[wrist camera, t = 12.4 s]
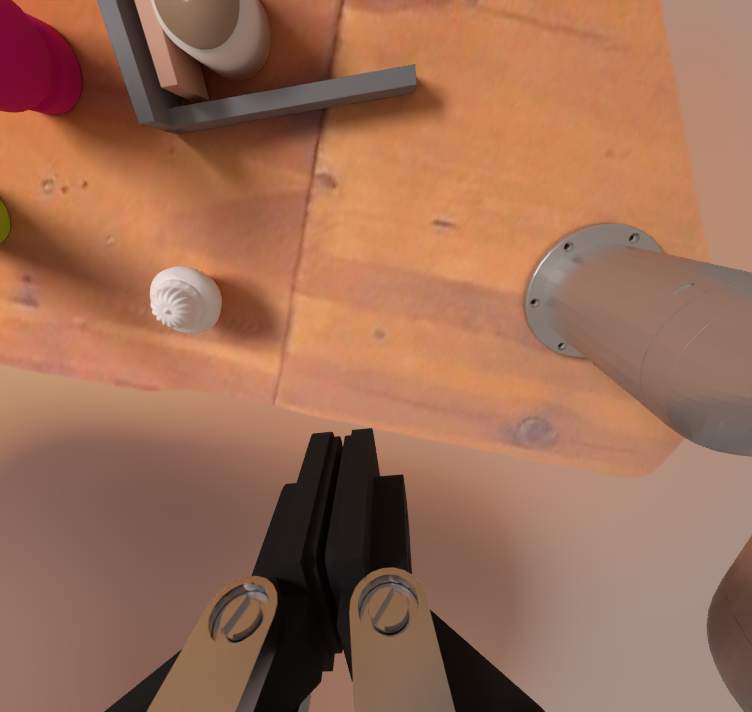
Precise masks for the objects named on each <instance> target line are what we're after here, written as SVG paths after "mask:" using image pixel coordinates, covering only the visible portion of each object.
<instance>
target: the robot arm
mask: <svg viewBox="0 0 752 712" xmlns="http://www.w3.org/2000/svg"><path fill="white" fill-rule="evenodd" d="M630 236H631V238H630ZM629 238H630V239H629ZM566 243H567V247H566V248H565V249H564V246H565V244H566ZM533 299H534V302H533V303H531V301H532V300H533ZM523 306H524V314H525V318H526V321H527V324H528V326H529V328H530V330H531V331H532V333H533V334H534V336H535V337H536V338H537V339H538V340H539V341H540V342H541V343H542V344H544V345H545V346H546V347H548V348H549V349H550V350H552V351H554V352H556V353H559V354H562V355H566V356H570V357H582V358H584V357H586V358H587V359H588V360H589V361H591V362H592V363H593V364H594V365H595V366H597V367H598V368H599V369H600V370H601V371H603V372H604V373H605V374H606V375H607V376H609V377H610V378H611V379H612V380H613V381H615V382H616V383H617V384H618V385H619V386H621V387H622V388H623V389H624V390H625V391H627V392H628V393H629V394H630V395H632V396H633V397H634V398H635V399H636V400H638V401H639V402H640V403H641V404H642V405H644V406H645V407H646V408H647V409H648V410H650V411H651V412H652V413H653V414H654V415H656V416H657V417H658V418H659V419H660V420H661V421H663V422H664V423H665V424H666V425H668V426H669V427H670V428H671V429H673V430H674V431H675V432H677V433H678V434H680V435H681V436H683V437H685V438H686V439H688V440H690V441H692V442H694V443H696V444H698V445H701V446H703V447H706V448H709V449H712V450H715V451H719V452H724V453H730V454H735V455H742V456H752V273H751V272H746V271H742V270H737V269H733V268H728V267H723V266H718V265H714V264H710V263H705V262H700V261H696V260H691V259H687V258H682V257H678V256H673V255H668V254H664V253H663V252H662V250H661V247H660V246H659V245H658V244H657V243H656V241H655V240H654V239H653V238H652V237H651V236H649V235H648V234H646V233H645V232H644V231H642V230H640V229H637V228H635V227H632V226H629V225H623V224H616V223H601V224H593V225H589V226H586V227H583V228H580V229H577V230H575V231H573V232H571V233H569V234H567V235H565V236H563V237H562V238H561V239H559V240H558V241H557V242H555V243H554V244H553V245H552V246H551V247H550V248H549V249H548V250H547V251H546V252H545V253H544V254H543V255H542V256H541V257H540V259H539V260H538V262H537V263H536V265H535V266H534V267H533V269H532V272H531V274H530V276H529V278H528V280H527V284H526V288H525V291H524V302H523ZM560 343H561V344H560ZM559 344H560V345H559ZM707 636H708V643H709V647H710V651H711V654H712V657H713V660H714V662H715V665H716V667H717V669H718V671H719V673H720V675H721V677H722V679H723V681H724V683H725V685H726V686H727V688H728V690H729V691H730V693H731V694H732V696H733V697H734V698H735V700H736V702H737V703H738V704H739V706H740V707H741V708H742V710H743V711H744V712H752V536H751V537H750V539H749V540H748V542H747V543H746V545H745V546H744V548H743V549H742V551H741V552H740V554H739V555H738V557H737V558H736V560H735V561H734V563H733V564H732V566H731V567H730V568H729V570H728V571H727V573H726V574H725V576H724V578H723V579H722V581H721V583H720V585H719V586H718V588H717V590H716V592H715V594H714V596H713V598H712V601H711V604H710V607H709V610H708V618H707ZM342 650H344V654H345V657H346V661H347V665H348V668H349V672H350V676H351V679H352V681H353V691H354V707H355V708H354V709H355V712H545V711H544V710H543V709H542V708H541V707H540V706H539V705H538V704H537V703H536V702H534V701H533V700H532V699H531V698H530V697H529V696H528V695H526V694H525V693H524V692H523V691H522V690H521V689H520V688H519V687H517V686H516V685H515V684H514V683H513V682H512V681H511V680H509V679H508V678H507V677H506V676H505V675H504V674H503V673H502V672H500V671H499V670H498V669H497V668H496V667H495V666H494V665H492V664H491V663H490V662H489V661H488V660H487V659H486V658H484V657H483V656H482V655H481V654H480V653H479V652H478V651H477V650H475V649H474V648H473V647H472V646H471V645H470V644H469V643H467V642H466V641H465V640H464V639H463V638H462V637H461V636H460V635H458V634H457V633H456V632H455V631H454V630H452V628H450V627H449V626H448V625H447V624H446V623H445V622H444V621H442V620H441V619H440V618H439V617H438V616H437V615H436V614H435V613H433V612H432V611H431V610H430V609H429V605H428V601H427V597H426V594H425V591H424V589H423V587H422V585H421V583H420V582H419V581H418V580H417V579H416V578H415V576H413V575H412V568H411V553H410V536H409V522H408V511H407V501H406V493H405V484H404V477H403V475H392V476H380V473H379V467H378V460H377V454H376V447H375V441H374V435H373V430H372V428H369V429H359V430H352V434H351V435H350V436H345V439H344V445H343V446H342V441H341V438H340V436H338V437H334V434H333V432H325V433H314V434H312V436H311V438H310V442H309V445H308V448H307V451H306V454H305V458H304V461H303V464H302V468H301V470H300V474H299V477H298V480H297V483H292V484H286V485H285V486H284V487H283V489H282V491H281V495H280V497H279V500H278V503H277V505H276V509H275V511H274V514H273V517H272V520H271V522H270V526H269V528H268V531H267V534H266V537H265V539H264V542H263V545H262V548H261V551H260V554H259V557H258V559H257V562H256V565H255V568H254V571H253V573H252V576H247V577H244V578H241V579H238V580H235V581H234V582H232V583H230V584H229V585H227V586H225V587H224V588H223V589H222V590H221V591H220V592H219V593H218V594H217V595H215V596H214V598H213V599H212V601H211V602H210V603H209V604H208V606H207V607H206V609H205V611H204V612H203V614H202V616H201V618H200V619H199V621H198V623H197V625H196V626H195V628H194V630H193V632H192V633H191V635H190V637H189V639H188V640H187V642H186V644H185V646H184V647H183V649H182V650H180V651H179V652H178V653H177V654H176V655H174V656H173V657H172V658H171V659H169V660H168V661H167V662H166V663H164V664H163V665H162V666H161V667H160V668H158V669H157V670H156V671H154V672H153V673H152V674H151V675H149V676H148V677H147V678H146V679H144V680H143V681H142V682H141V683H140V684H138V685H137V686H136V687H134V688H133V689H132V690H131V691H129V692H128V693H127V694H126V695H125V696H123V697H122V698H121V699H120V700H118V701H117V702H116V703H115V704H113V705H112V706H111V707H109V708H108V709H107V710H106V711H105V712H308V710H309V704H310V697H311V692H312V691H313V690H314V689H315V688H316V687H317V686H318V684H319V683H320V682H321V678H322V672H323V671H333V665H334V664H333V663H334V656H335V653H342Z"/></svg>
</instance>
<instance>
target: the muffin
mask: <svg viewBox="0 0 752 712" xmlns="http://www.w3.org/2000/svg"><path fill="white" fill-rule="evenodd" d="M150 300H151V308H152V309H153V310H152V313H153V315H155V316H157V320H158V321H162V323H163V325H167V326H169V327H170V328H172V329H174V330H177V331H180V332H183V333H191V334H193V333H200V332H203V331H206V330H208V329H210V328H211V327H212V326H214V325H215V323H216V322H217V321H218V318H219V316H220V312H221V306H222V297H221V292H220V289H219V287H218V286H217V284H216V283H215V282H214V280H213V279H212V278H210V277H209V276H208V275H206V274H205V273H203V272H202V271H198V270H197V269H194V268H190V267H185V266H177V267H171V268H168V269H165V270H163V271H162V272H160V273H159V274H158V275H157V276H156V277H155V278H154V280H153V282H152V284H151V288H150Z"/></svg>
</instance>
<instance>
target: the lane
mask: <svg viewBox="0 0 752 712" xmlns="http://www.w3.org/2000/svg"><path fill="white" fill-rule="evenodd" d="M97 2H98V5H99V8H100V11H101V14H102V16H103V19H104V22H105V25H106V28H107V31H108V34H109V37H110V40H111V43H112V46H113V49H114V52H115V55H116V58H117V61H118V64H119V67H120V70H121V73H122V76H123V79H124V81H125V84H126V87H127V90H128V93H129V96H130V99H131V102H132V105H133V108H134V111H135V114H136V117H137V120H138V123H139V124H141V125H145V126H148V127H152V128H156V129H159V130H163V131H166V132H170V133H173V134H179V133H185V132H191V131H197V130H202V129H208V128H214V127H220V126H225V125H231V124H237V123H243V122H249V121H254V120H260V119H266V118H272V117H277V116H283V115H289V114H295V113H301V112H306V111H312V110H318V109H324V108H330V107H335V106H341V105H347V104H353V103H358V102H364V101H370V100H376V99H382V98H387V97H393V96H399V95H405V94H411V93H414V92H415V88H416V85H417V83H416V70H415V64H414V65H408V66H403V67H397V68H392V69H386V70H380V71H375V72H369V73H364V74H358V75H353V76H347V77H341V78H336V79H330V80H325V81H319V82H313V83H308V84H302V85H297V86H291V87H286V88H280V89H274V90H269V91H263V92H258V93H252V94H246V95H241V96H235V97H230V98H224V99H219V100H213V101H207V102H202V103H196V104H191V105H185V106H182V105H181V102H180V99H179V95H176V94H174V93H172V92H170V91H168V90H166V89H164V88H162V87H161V85H160V82H159V79H158V75H157V72H156V69H155V66H154V62H153V59H152V56H151V53H150V49H149V46H148V43H147V40H146V36H145V33H144V30H143V27H142V23H141V20H140V17H139V14H138V10H137V7H136V4H135V1H134V0H97Z"/></svg>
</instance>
